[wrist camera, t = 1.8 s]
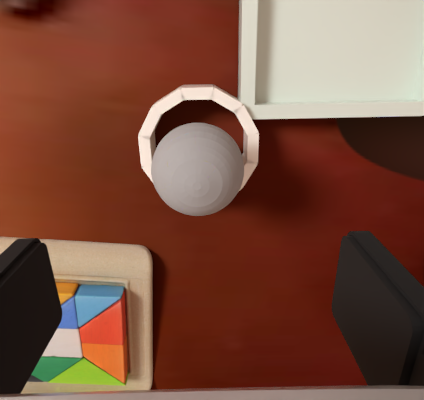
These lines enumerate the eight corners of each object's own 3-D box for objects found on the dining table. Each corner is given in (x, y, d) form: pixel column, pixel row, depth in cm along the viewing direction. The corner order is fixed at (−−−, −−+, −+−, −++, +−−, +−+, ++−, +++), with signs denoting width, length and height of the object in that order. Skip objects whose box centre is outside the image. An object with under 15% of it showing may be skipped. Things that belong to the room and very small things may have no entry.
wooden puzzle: (-4, 379, 37) (-24, 410, 34) (-41, 231, 30) (-71, 252, 27) (153, 385, 38) (148, 415, 35) (155, 242, 31) (149, 264, 27)
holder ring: (140, 85, 25) (133, 88, 22) (255, 83, 25) (260, 86, 22) (150, 193, 28) (145, 205, 26) (252, 190, 28) (256, 203, 26)
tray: (240, -120, 20) (244, -138, 18) (469, -123, 20) (495, -141, 18) (237, 115, 26) (240, 119, 24) (417, 111, 26) (433, 115, 24)
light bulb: (242, 116, 26) (262, 148, 17) (223, 180, 28) (233, 241, 19) (172, 98, 25) (154, 121, 16) (159, 165, 27) (136, 220, 18)
